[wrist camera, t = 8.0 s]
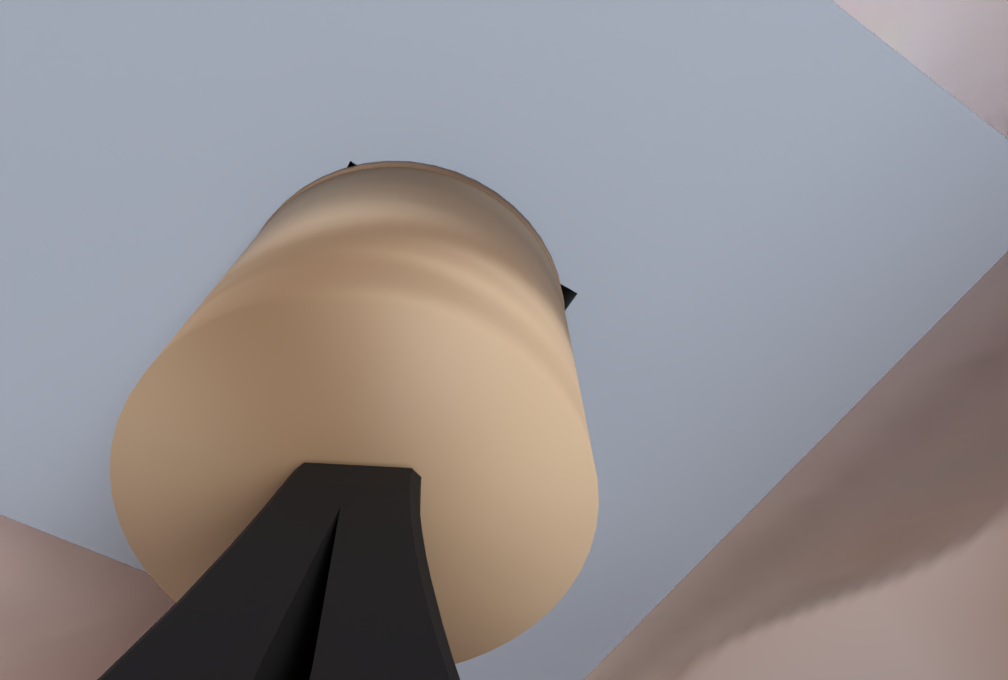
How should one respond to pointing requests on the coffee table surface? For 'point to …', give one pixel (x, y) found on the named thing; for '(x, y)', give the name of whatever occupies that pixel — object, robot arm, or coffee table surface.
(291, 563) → the robot arm
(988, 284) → the coffee table surface
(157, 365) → the oak peg
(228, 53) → the mortise board
